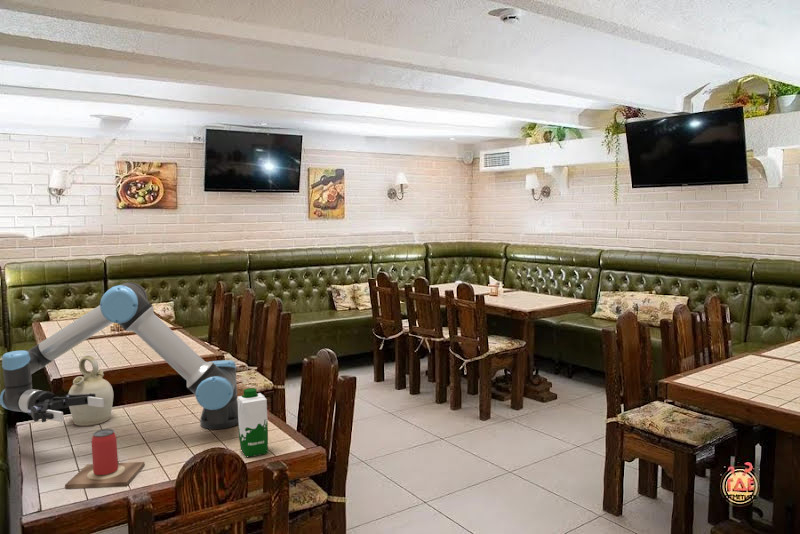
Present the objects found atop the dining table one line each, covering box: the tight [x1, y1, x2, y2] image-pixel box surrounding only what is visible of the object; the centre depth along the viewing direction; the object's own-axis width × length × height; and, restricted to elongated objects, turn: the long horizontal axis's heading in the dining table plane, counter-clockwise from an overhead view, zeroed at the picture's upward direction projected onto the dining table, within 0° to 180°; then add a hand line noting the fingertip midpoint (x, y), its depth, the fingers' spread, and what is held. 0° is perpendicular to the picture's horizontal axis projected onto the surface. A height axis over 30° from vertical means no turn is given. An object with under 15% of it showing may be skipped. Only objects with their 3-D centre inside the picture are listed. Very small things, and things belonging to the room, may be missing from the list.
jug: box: [68, 355, 115, 427], centre depth 226 cm, size 15×16×25 cm
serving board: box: [64, 461, 145, 490], centre depth 177 cm, size 17×14×2 cm
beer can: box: [91, 428, 119, 476], centre depth 176 cm, size 7×7×12 cm
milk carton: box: [237, 387, 269, 458], centre depth 192 cm, size 9×9×20 cm
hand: (83, 409), depth 182 cm, fingers open, 13 cm apart
